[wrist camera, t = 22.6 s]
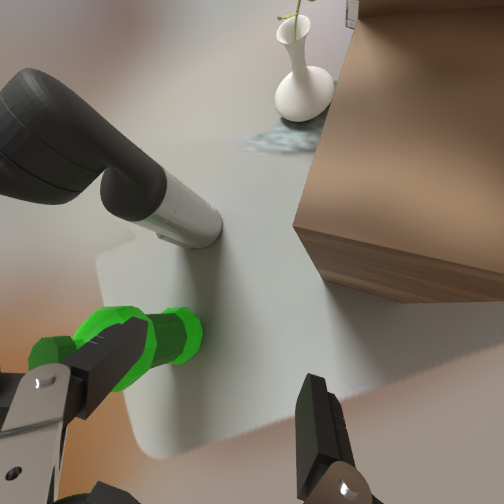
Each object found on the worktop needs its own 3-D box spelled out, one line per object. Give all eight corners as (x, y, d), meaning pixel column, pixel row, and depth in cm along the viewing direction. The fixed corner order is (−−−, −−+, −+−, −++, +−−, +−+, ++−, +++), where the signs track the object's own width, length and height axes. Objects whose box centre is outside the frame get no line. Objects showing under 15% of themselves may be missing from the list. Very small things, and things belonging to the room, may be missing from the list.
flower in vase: (294, 137, 48) (255, -19, 25) (266, 101, 52) (210, -63, 29) (354, 95, 46) (373, -121, 22) (321, 60, 49) (307, -154, 26)
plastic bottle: (172, 368, 46) (9, 432, 23) (161, 314, 50) (7, 323, 26) (218, 352, 44) (87, 406, 21) (203, 297, 47) (75, 290, 24)
